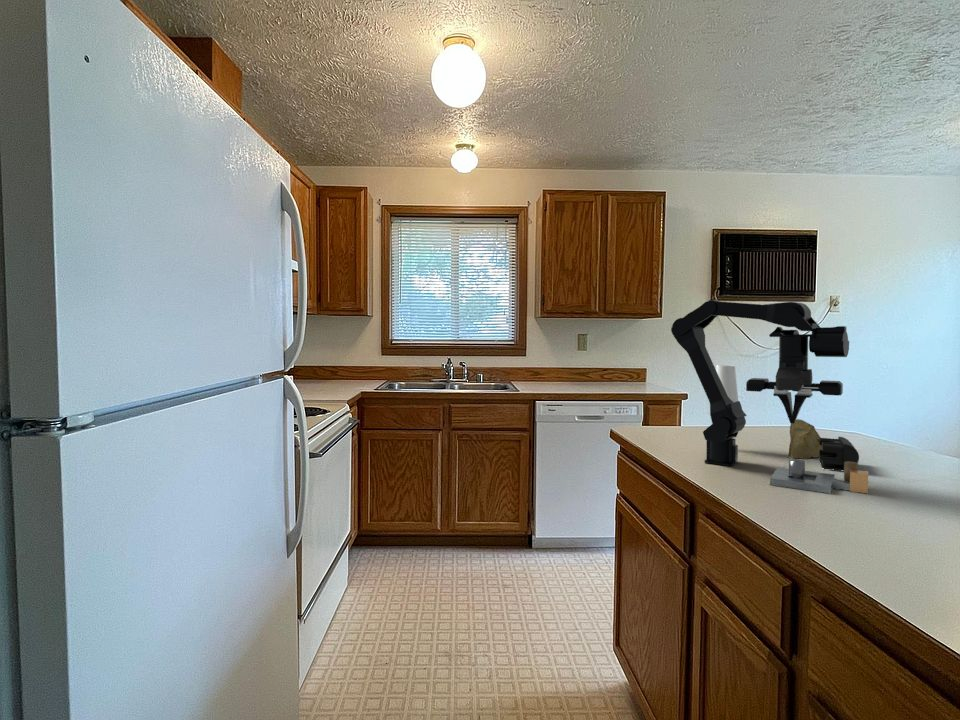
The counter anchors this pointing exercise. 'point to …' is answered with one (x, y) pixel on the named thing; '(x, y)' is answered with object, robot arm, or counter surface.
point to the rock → (804, 440)
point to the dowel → (848, 467)
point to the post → (797, 468)
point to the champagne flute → (728, 380)
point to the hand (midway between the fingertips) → (792, 423)
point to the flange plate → (821, 481)
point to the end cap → (837, 453)
